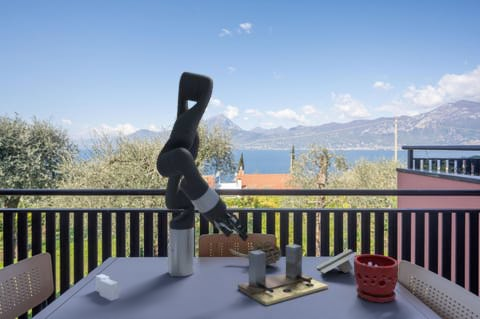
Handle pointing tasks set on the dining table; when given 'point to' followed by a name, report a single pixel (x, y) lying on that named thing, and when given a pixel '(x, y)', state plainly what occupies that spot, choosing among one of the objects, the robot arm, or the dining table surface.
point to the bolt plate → (289, 292)
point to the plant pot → (376, 277)
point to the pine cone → (270, 249)
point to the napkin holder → (106, 287)
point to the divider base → (289, 278)
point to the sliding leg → (258, 270)
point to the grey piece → (338, 262)
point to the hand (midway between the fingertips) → (237, 237)
